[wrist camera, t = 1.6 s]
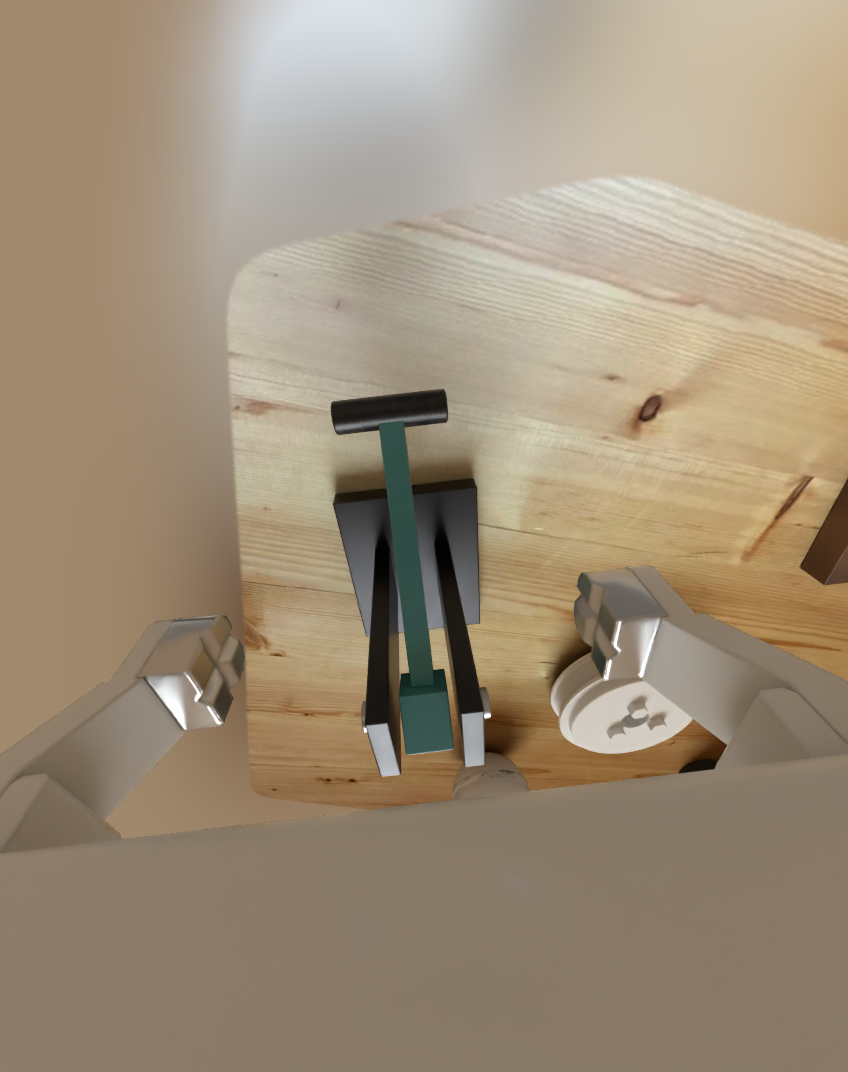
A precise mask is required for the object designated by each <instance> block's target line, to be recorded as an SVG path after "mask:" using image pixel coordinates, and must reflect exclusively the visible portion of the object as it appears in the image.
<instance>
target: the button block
mask: <svg viewBox="0 0 848 1072" xmlns="http://www.w3.org/2000/svg"><path fill="white" fill-rule="evenodd" d="M800 568H801V569H802V570H804V571H805V572H807V573H808V574H809V575H811V576H812V577H813V578H815V579H816V580H818V581H819V582H820V583H822V584H823V585H831V584H839V583H848V481H847V482H846V484H845V486H844V488H843V490H842V492H841V493H840V495H839V497H838V499H837V501H836V503H835V505H834V506H833V508H832V510H831V512H830V514H829V516H828V517H827V519H826V521H825V523H824V525H823V527H822V528H821V530H820V532H819V534H818V536H817V538H816V540H815V541H814V543H813V545H812V547H811V549H810V551H809V552H808V554H807V556H806V558H805V560H804V562H803V563H802V565H801V567H800Z"/></svg>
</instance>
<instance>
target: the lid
mask: <svg viewBox="0 0 848 1072" xmlns="http://www.w3.org/2000/svg"><path fill="white" fill-rule="evenodd" d="M590 656H591V652H590V653H588V654H587V655H585V656H583V657H581V658H580V659H578V660H577V661H575V662H574V663H572V664H571V665H570V666H569V667H567V668H566V669H565V670H564V671H563V672H562V673H561V675H560V676H559V677H558V678H557V680H556V681H555V683H554V685H553V687H552V690H551V696H550V700H551V705H552V707H553V710H554V711H555V713H556V714H557V715H558V716H559V726H560V729H561V732H562V734H563V735H564V737H565V738H566V739H567V740H568V741H570V742H571V743H573V744H575V745H577V746H580V747H583V748H585V749H587V750H590V751H593V752H599V753H626V752H632V751H636V750H640V749H644V748H647V747H650V746H653V745H656V744H658V743H660V742H662V741H665V740H667V739H668V738H670V737H672V736H674V735H675V734H677V733H678V732H680V731H681V730H682V729H683V728H685V727H686V726H687V725H688V724H689V723H690V722H691V721H692V719H693V718H692V717H690V716H689V715H688V714H686V713H685V712H684V711H682V710H681V709H680V708H679V707H677V706H676V705H675V704H673V703H672V702H671V701H670V700H668V699H667V698H666V697H664V696H663V695H662V694H661V693H659V692H658V691H657V690H655V689H654V688H653V687H651V686H650V685H649V684H648V683H646V682H645V681H644V680H642V679H643V677H642V678H631V679H620V680H608V681H603V679H602V677H601V676H600V674H599V672H598V670H597V668H596V666H595V664H594V662H593V660H592V658H591V657H590Z"/></svg>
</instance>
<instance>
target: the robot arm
mask: <svg viewBox="0 0 848 1072" xmlns="http://www.w3.org/2000/svg"><path fill="white" fill-rule="evenodd" d="M577 587H578V589H579V591H580V592H581V595H580V596H579V597H578V598H577V599H576V600H575V605H574V618H575V624H576V627H577V630H578V633H579V635H580V637H581V639H582V641H584V642H585V643H587V644H588V645H590V646H591V647H592V650H591V656H590V657H591V658H592V660H593V662H594V664H595V666H596V668H597V670H598V672H599V674H600V676H601V677H602V679H603V681H608V680H620V679H631V678H642V677H643V679H642V680H644V681H645V682H646V683H648V684H649V685H650V686H651V687H653V688H654V689H655V690H657V691H658V692H659V693H661V694H662V695H663V696H664V697H666V698H667V699H668V700H670V701H671V702H672V703H673V704H675V705H676V706H677V707H679V708H680V709H681V710H682V711H684V712H685V713H686V714H688V715H689V716H690V717H692V718H693V719H694V720H695V721H697V722H698V723H699V724H701V725H702V726H703V727H704V728H706V729H707V730H708V731H710V732H711V733H712V734H714V735H715V736H716V737H717V738H719V739H720V740H721V741H723V742H724V743H725V744H726V745H727V747H726V749H725V750H724V752H723V754H722V755H721V757H720V759H719V760H718V762H717V765H716V767H715V769H714V770H705V771H697V772H688V773H680V774H672V775H663V776H655V777H646V778H638V779H629V780H621V781H612V782H604V783H595V784H586V785H578V786H569V787H561V788H552V789H544V790H535V791H526V792H518V793H509V794H501V795H492V796H484V797H475V798H467V799H458V800H449V801H441V802H432V803H424V804H415V805H407V806H398V807H390V808H382V809H373V810H365V811H356V812H349V813H339V814H332V815H322V816H315V817H305V818H297V819H289V820H280V821H271V822H263V823H256V824H246V825H238V826H229V827H221V828H212V829H204V830H195V831H187V832H178V833H170V834H161V835H153V836H144V837H136V838H127V839H122V838H121V835H120V833H119V832H118V831H117V830H115V829H114V828H113V827H112V826H110V825H109V824H108V823H107V822H105V819H106V818H107V817H108V816H109V815H110V814H111V813H112V812H113V811H114V810H115V808H116V807H117V806H118V805H119V804H120V803H121V802H122V801H123V800H124V799H125V797H126V796H127V795H128V794H129V793H130V792H131V791H132V790H133V789H134V788H135V787H136V785H137V784H138V783H139V782H140V781H141V780H142V779H143V778H144V777H145V775H146V774H147V773H148V772H149V771H150V770H151V769H152V768H153V767H154V766H155V765H156V763H157V762H158V761H159V760H160V759H161V758H162V757H163V756H164V755H165V754H166V752H167V751H168V750H169V749H170V748H171V747H172V746H173V745H174V743H176V741H177V740H178V739H179V738H180V737H181V736H182V735H183V734H184V732H183V731H186V730H193V729H200V728H207V727H214V726H221V725H223V724H224V721H225V719H226V716H227V714H228V711H229V708H230V706H231V703H232V700H233V696H232V693H231V691H230V689H231V688H232V687H233V686H234V685H236V684H237V683H238V682H239V681H240V679H241V676H242V673H243V670H244V660H245V656H244V651H243V647H242V645H241V643H240V641H239V639H237V638H235V637H234V636H232V635H230V634H229V632H230V630H231V628H232V625H231V623H230V621H229V620H228V618H227V616H224V615H211V616H201V617H189V618H179V619H173V620H161V621H155V622H153V623H152V624H150V625H149V626H148V627H147V629H146V630H145V631H144V633H143V634H142V636H141V637H140V639H139V640H138V642H137V643H136V644H135V646H134V647H133V649H132V650H131V652H130V653H129V654H128V656H127V657H126V659H125V660H124V662H123V663H122V665H121V666H120V667H119V669H118V670H117V672H116V673H115V674H114V676H113V677H112V679H111V680H110V682H103V683H101V684H99V685H98V686H96V687H95V688H94V689H92V690H91V691H89V692H88V693H87V694H85V695H84V696H82V697H81V698H79V699H78V700H77V701H75V702H74V703H72V704H71V705H70V706H68V707H67V708H65V709H64V710H62V711H61V712H60V713H58V714H57V715H55V716H54V717H53V718H51V719H50V720H48V721H47V722H45V723H44V724H43V725H41V726H40V727H38V728H37V729H36V730H34V731H33V732H31V733H30V734H29V735H27V736H26V737H24V738H23V739H21V740H20V741H19V742H17V743H16V744H14V745H13V746H12V747H10V748H9V749H7V750H6V751H4V752H3V753H2V754H0V1072H848V682H847V681H846V680H845V679H843V678H841V677H839V676H837V675H835V674H833V673H830V672H828V671H826V670H824V669H822V668H820V667H818V666H815V665H813V664H811V663H809V662H807V661H805V660H803V659H800V658H798V657H796V656H794V655H792V654H790V653H788V652H785V651H783V650H781V649H779V648H777V647H775V646H773V645H770V644H768V643H766V642H764V641H762V640H760V639H758V638H755V637H753V636H751V635H749V634H747V633H745V632H743V631H740V630H738V629H736V628H734V627H732V626H730V625H728V624H725V623H723V622H721V621H719V620H717V619H715V618H713V617H710V616H708V615H706V614H704V613H697V614H695V612H694V611H693V610H692V609H691V608H690V607H689V606H688V605H687V604H686V602H685V601H684V600H683V599H682V598H681V597H680V596H679V595H678V594H677V592H676V591H675V590H674V589H673V588H672V587H671V586H670V585H669V584H668V582H667V581H666V580H665V579H664V578H663V577H662V576H661V575H660V574H659V572H658V571H657V570H656V569H655V568H654V567H653V566H651V565H649V564H646V565H638V566H631V567H625V568H618V569H610V570H602V571H593V572H585V573H581V575H580V576H579V579H578V585H577Z"/></svg>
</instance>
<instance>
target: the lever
mask: <svg viewBox="0 0 848 1072" xmlns="http://www.w3.org/2000/svg"><path fill="white" fill-rule="evenodd" d="M331 416H332V422H333V426H334V429H335V432H336V433H337V434H338V435H342V434H351V433H360V432H368V431H377V430H379V431H380V439H381V448H382V456H383V464H384V472H385V480H386V488H387V496H388V504H389V512H390V520H391V529H392V537H393V545H394V553H395V561H396V569H397V577H398V585H399V593H400V601H401V609H402V618H403V626H404V634H405V642H406V650H407V658H408V666H409V673H404V674H401V680H400V690H399V703H400V711H401V719H402V727H403V734H404V742H405V750H406V755H412V754H420V753H429V752H437V751H446V750H453V749H454V743H453V734H452V726H451V717H450V708H449V699H448V691H447V684H446V678H445V671H444V669H438V670H433V665H432V656H431V647H430V639H429V630H428V622H427V613H426V605H425V596H424V588H423V579H422V571H421V562H420V554H419V545H418V537H417V528H416V520H415V511H414V503H413V494H412V486H411V477H410V469H409V460H408V451H407V443H406V434H405V427H412V426H421V425H429V424H438V423H446V422H447V421H448V406H447V397H446V392H445V390H444V389H437V390H428V391H419V392H410V393H402V394H393V395H384V396H376V397H367V398H358V399H349V400H341V401H333V402H332V403H331Z"/></svg>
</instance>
